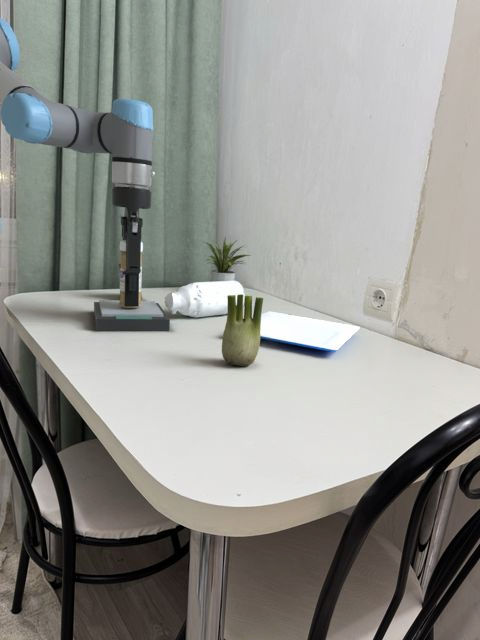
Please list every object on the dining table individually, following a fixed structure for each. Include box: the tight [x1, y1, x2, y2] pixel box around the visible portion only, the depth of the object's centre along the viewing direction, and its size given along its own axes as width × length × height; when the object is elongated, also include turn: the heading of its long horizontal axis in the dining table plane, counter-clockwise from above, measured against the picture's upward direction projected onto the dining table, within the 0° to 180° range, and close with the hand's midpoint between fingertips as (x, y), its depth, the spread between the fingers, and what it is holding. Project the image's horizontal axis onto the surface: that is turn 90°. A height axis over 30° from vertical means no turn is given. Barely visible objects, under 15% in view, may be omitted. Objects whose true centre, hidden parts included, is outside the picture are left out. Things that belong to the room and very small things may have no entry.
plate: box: [252, 310, 361, 353], centre depth 106 cm, size 22×22×2 cm
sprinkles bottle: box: [119, 240, 144, 308], centre depth 104 cm, size 5×5×14 cm
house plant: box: [204, 236, 251, 282], centre depth 146 cm, size 14×14×16 cm
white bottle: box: [164, 280, 246, 319], centre depth 117 cm, size 8×19×8 cm, turn 132°
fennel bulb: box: [221, 294, 264, 367], centre depth 84 cm, size 6×5×12 cm
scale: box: [93, 299, 171, 332], centre depth 107 cm, size 16×14×3 cm
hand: (130, 303), depth 106 cm, fingers closed on sprinkles bottle, 4 cm apart
